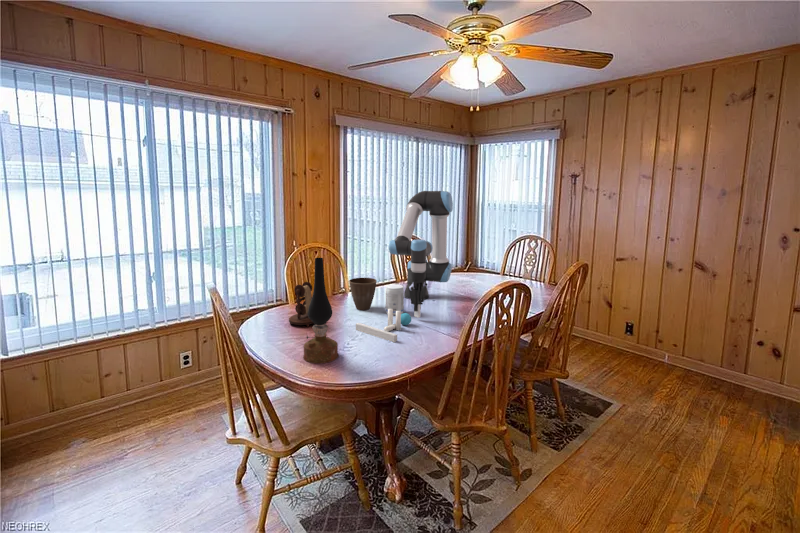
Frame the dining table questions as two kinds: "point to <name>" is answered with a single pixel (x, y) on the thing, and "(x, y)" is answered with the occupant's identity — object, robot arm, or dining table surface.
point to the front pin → (390, 327)
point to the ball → (405, 319)
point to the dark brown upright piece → (302, 305)
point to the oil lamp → (320, 322)
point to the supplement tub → (395, 298)
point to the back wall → (376, 332)
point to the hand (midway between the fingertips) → (417, 316)
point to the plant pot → (363, 292)
